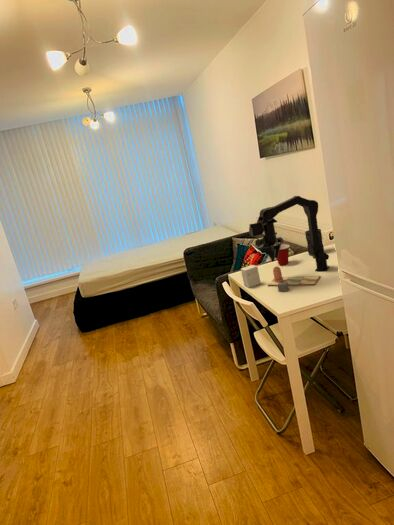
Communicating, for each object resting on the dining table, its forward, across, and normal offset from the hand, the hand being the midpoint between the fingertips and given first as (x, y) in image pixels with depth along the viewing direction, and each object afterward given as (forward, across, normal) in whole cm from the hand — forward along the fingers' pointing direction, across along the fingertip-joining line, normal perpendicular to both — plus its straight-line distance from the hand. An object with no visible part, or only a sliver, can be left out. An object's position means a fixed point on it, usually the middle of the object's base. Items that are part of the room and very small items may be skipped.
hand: (274, 259), depth 210 cm
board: (+13, 0, +8) cm, 16 cm away
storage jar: (+13, -50, +8) cm, 52 cm away
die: (+13, +12, +7) cm, 19 cm away
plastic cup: (+13, -31, -8) cm, 35 cm away
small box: (+13, +3, -15) cm, 20 cm away
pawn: (+12, 0, 0) cm, 12 cm away
